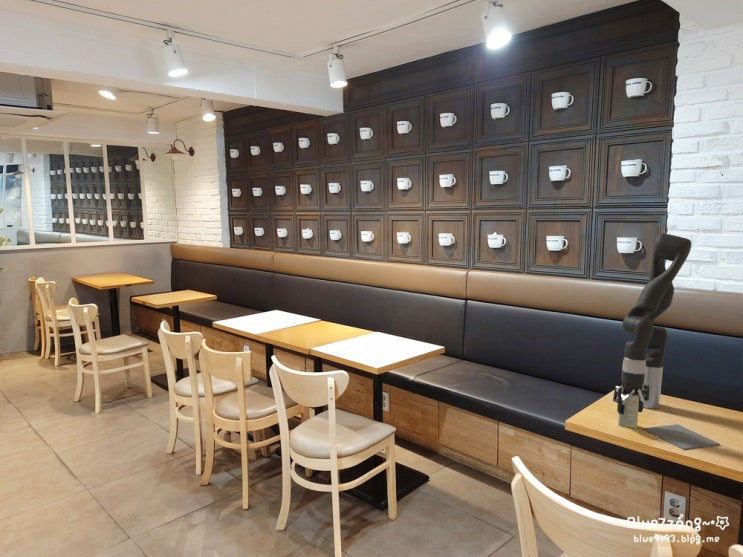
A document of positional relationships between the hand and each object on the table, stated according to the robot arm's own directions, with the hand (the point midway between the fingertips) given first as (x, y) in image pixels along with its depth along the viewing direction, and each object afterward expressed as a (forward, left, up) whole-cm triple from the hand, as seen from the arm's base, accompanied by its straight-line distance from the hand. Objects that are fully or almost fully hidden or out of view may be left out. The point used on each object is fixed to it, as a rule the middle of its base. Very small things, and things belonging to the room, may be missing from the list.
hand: (629, 412), depth 189 cm
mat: (+12, +11, -5) cm, 17 cm away
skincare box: (-1, 0, -5) cm, 5 cm away
